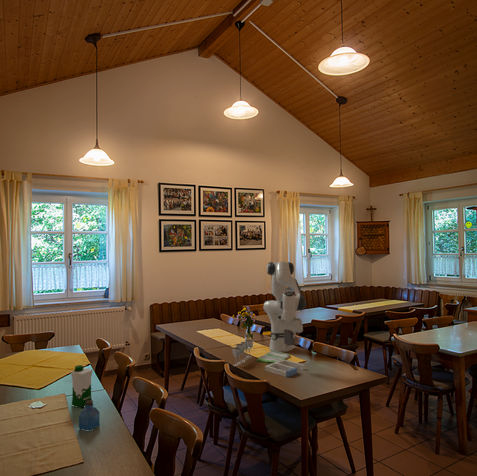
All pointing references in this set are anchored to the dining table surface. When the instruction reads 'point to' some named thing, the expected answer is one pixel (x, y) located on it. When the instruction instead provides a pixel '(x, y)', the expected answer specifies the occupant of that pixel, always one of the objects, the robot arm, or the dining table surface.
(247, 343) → the goblet set
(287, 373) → the white tray
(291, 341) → the cord plug
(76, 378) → the milk carton
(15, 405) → the dining table surface
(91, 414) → the perfume bottle
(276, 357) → the dish towel
